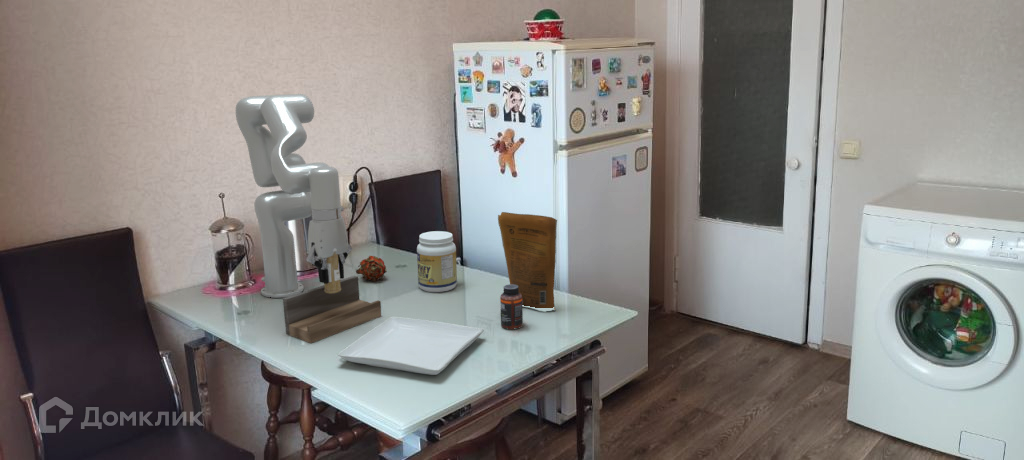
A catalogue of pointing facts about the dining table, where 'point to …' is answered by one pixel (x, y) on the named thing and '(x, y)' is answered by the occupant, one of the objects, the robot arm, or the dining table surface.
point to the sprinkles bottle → (333, 274)
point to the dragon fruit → (372, 268)
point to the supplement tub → (436, 261)
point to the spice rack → (327, 311)
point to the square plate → (411, 345)
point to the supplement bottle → (511, 307)
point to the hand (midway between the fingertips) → (331, 279)
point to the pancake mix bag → (530, 256)
